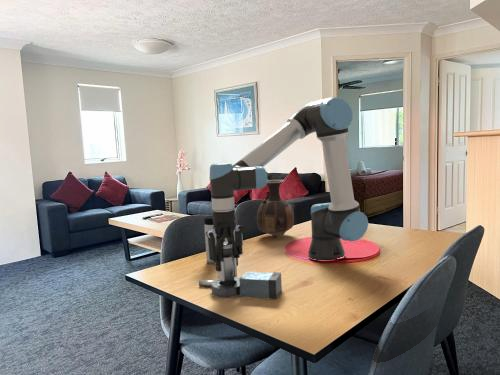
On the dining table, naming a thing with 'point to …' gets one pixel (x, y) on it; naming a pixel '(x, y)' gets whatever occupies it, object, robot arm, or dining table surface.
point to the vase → (274, 212)
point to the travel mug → (208, 227)
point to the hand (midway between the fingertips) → (227, 277)
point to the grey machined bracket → (248, 285)
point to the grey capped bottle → (228, 264)
